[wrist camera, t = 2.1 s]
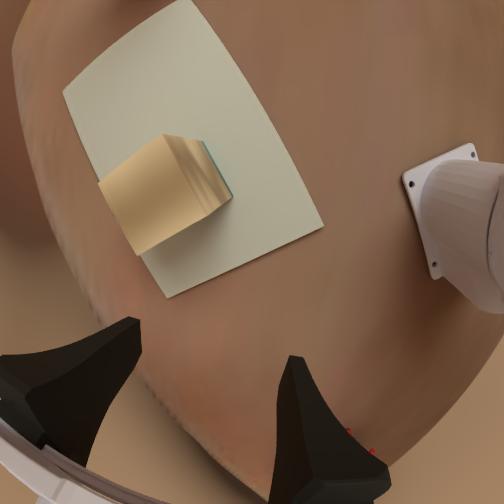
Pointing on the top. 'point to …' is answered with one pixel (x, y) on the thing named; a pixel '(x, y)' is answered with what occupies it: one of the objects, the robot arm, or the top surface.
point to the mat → (198, 128)
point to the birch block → (164, 190)
